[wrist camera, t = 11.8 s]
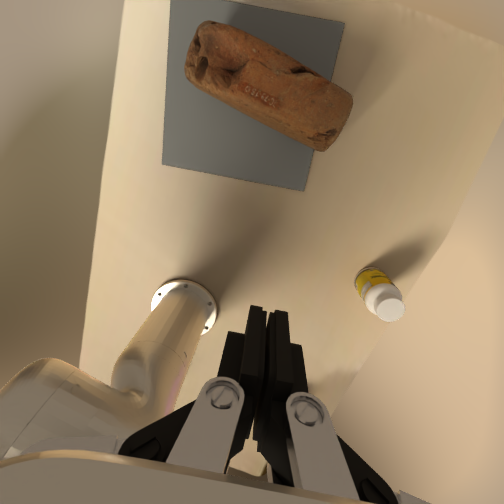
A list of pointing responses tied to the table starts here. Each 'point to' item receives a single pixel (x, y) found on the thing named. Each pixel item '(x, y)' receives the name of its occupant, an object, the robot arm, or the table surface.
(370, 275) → the supplement bottle
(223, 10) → the mat
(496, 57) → the table surface
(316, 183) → the table surface
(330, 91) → the block
